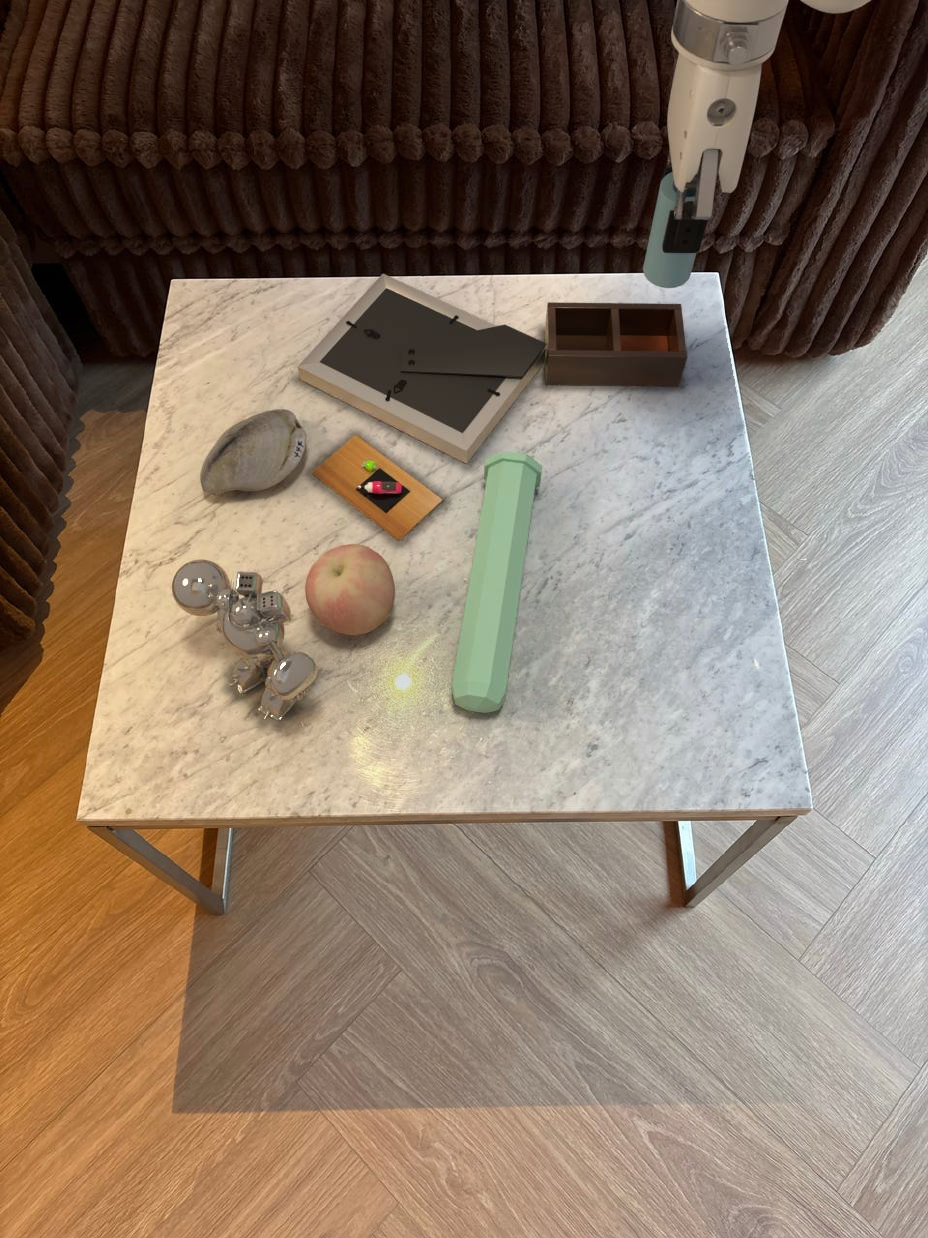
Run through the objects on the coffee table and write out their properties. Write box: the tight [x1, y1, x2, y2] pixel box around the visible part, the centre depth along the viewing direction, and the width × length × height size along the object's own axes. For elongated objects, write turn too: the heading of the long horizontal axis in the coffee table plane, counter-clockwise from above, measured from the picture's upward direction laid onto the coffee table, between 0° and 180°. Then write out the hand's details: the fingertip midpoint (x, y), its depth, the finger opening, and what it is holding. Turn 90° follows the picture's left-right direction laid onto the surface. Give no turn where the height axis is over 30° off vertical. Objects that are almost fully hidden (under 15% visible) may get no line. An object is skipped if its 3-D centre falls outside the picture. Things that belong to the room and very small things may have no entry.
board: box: [311, 434, 444, 542], centre depth 93 cm, size 6×12×2 cm, turn 48°
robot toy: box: [171, 559, 318, 721], centre depth 78 cm, size 15×6×15 cm, turn 46°
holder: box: [544, 301, 688, 388], centre depth 99 cm, size 7×14×4 cm, turn 89°
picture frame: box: [297, 273, 547, 465], centre depth 99 cm, size 16×3×21 cm
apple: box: [304, 543, 396, 636], centre depth 84 cm, size 8×8×8 cm
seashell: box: [199, 408, 308, 496], centre depth 93 cm, size 12×8×5 cm
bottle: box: [642, 172, 698, 289], centre depth 83 cm, size 4×4×10 cm
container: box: [451, 450, 543, 714], centre depth 86 cm, size 6×6×25 cm
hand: (677, 227), depth 83 cm, fingers closed on bottle, 4 cm apart
